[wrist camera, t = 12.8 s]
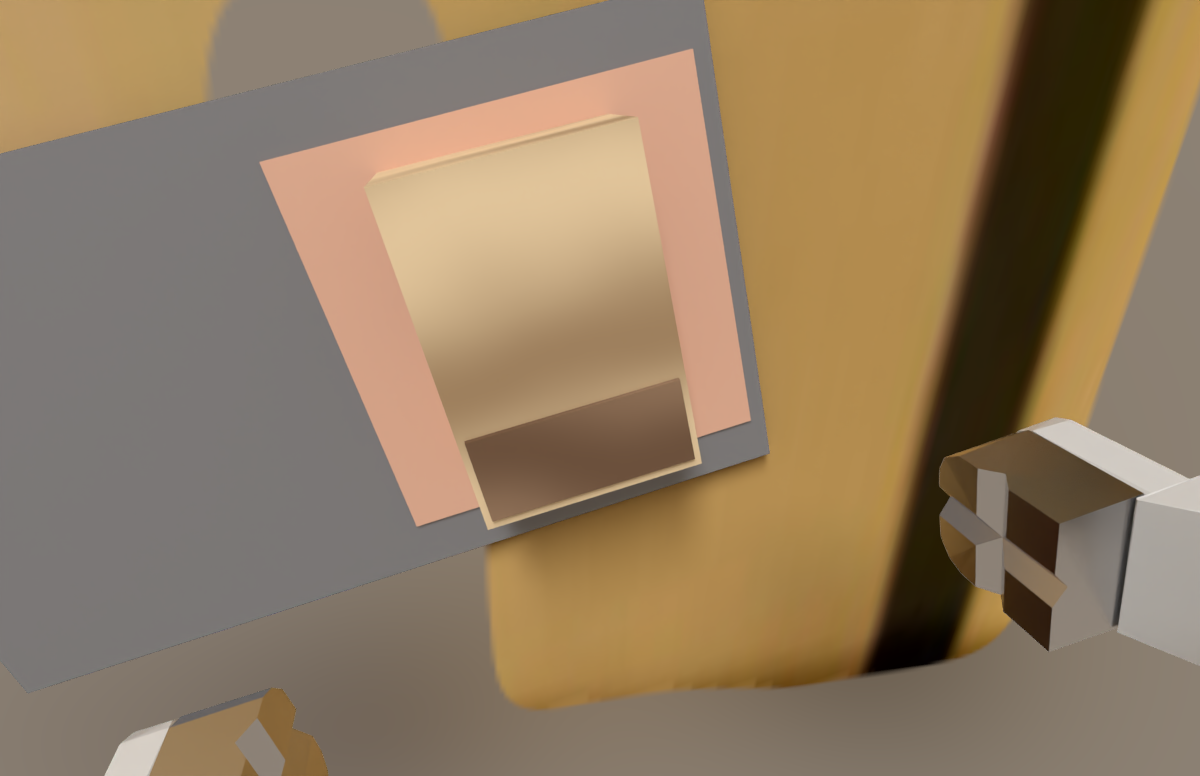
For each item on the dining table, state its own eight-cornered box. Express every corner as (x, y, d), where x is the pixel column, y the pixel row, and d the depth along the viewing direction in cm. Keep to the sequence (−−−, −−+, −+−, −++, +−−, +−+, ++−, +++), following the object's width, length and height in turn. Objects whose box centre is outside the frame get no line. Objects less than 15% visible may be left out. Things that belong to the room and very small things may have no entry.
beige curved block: (376, 172, 17) (362, 188, 14) (608, 113, 17) (639, 116, 15) (482, 473, 21) (488, 533, 18) (669, 416, 21) (704, 466, 18)
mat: (38, 678, 21) (25, 696, 20) (-327, 237, 15) (-361, 244, 14) (761, 445, 23) (771, 454, 23) (692, -20, 17) (701, -24, 17)
